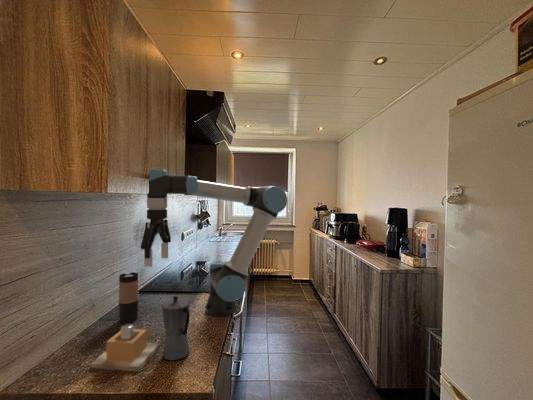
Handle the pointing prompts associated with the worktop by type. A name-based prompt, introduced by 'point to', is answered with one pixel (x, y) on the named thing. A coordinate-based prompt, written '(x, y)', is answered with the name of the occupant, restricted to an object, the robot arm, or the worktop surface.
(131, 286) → the travel mug
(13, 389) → the worktop surface
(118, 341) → the open wooden box
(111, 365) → the post stand
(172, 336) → the moka pot
